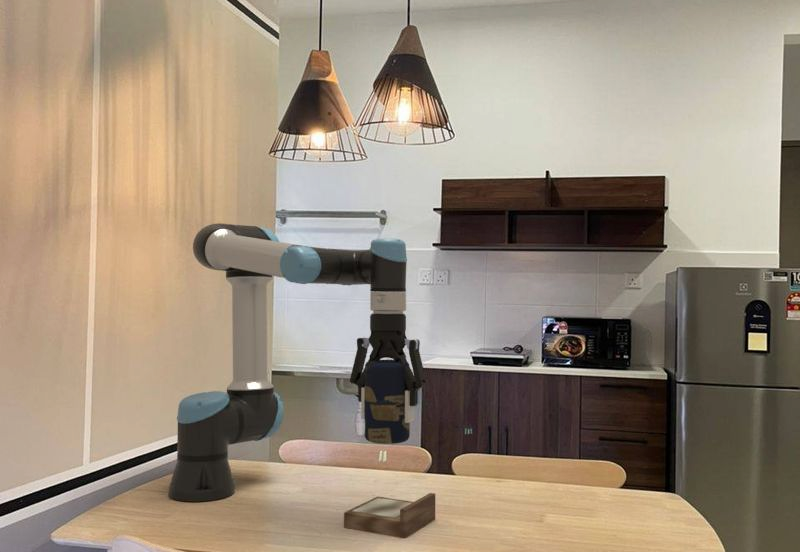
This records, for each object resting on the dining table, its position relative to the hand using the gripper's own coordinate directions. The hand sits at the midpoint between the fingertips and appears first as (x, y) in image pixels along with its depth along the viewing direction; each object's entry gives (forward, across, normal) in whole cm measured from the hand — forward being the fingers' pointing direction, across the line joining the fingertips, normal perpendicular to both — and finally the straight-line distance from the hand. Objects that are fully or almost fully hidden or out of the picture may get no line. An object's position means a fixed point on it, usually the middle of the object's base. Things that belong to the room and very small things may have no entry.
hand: (387, 419), depth 154 cm
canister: (+5, 0, 0) cm, 5 cm away
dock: (+21, +1, 0) cm, 21 cm away
